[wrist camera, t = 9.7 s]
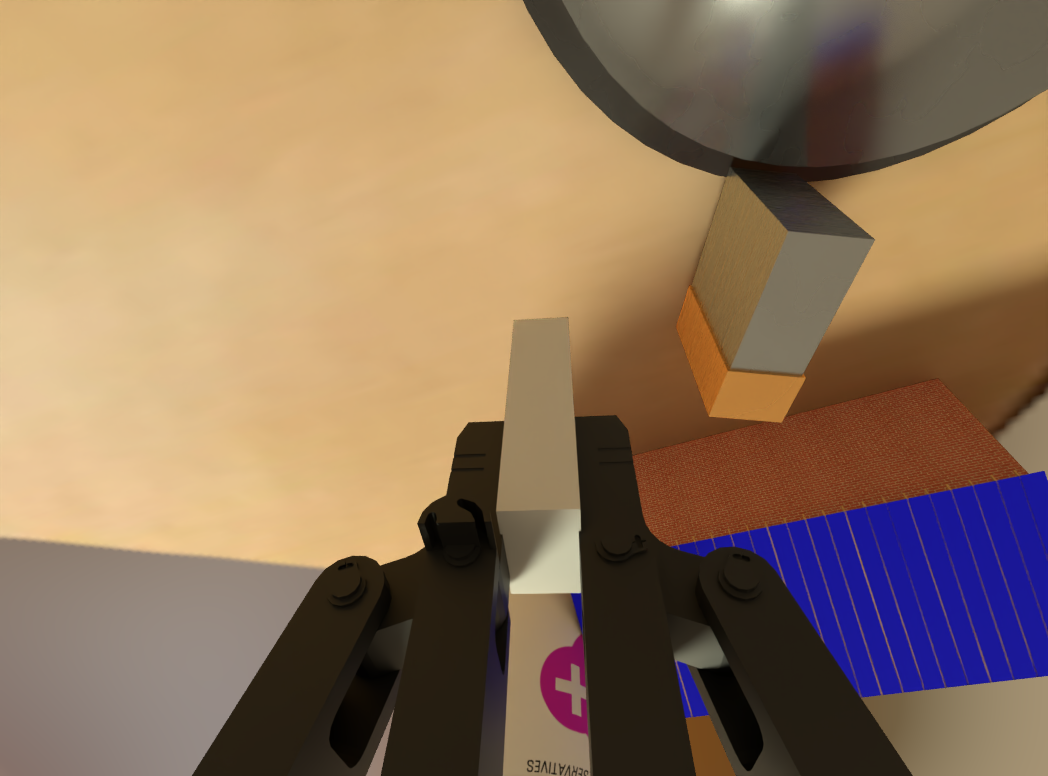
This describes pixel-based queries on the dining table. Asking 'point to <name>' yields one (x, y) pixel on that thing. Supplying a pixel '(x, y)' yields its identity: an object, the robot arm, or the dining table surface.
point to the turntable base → (653, 132)
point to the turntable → (802, 146)
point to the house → (874, 535)
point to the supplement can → (545, 689)
